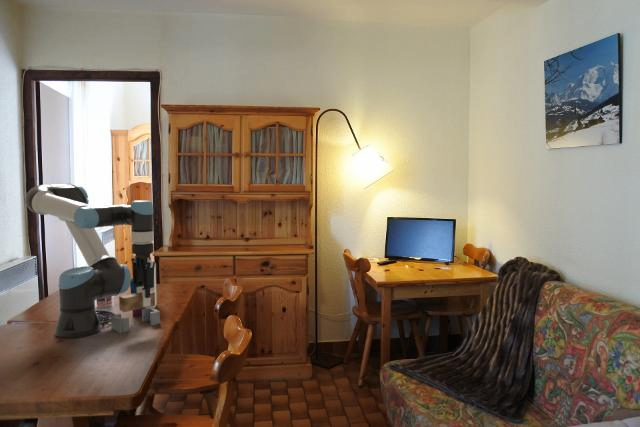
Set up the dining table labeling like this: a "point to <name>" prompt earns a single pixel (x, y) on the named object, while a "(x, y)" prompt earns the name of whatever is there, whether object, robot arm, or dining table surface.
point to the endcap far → (151, 316)
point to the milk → (154, 287)
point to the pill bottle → (104, 302)
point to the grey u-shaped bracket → (119, 323)
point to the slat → (134, 301)
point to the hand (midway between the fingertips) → (143, 304)
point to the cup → (134, 290)
